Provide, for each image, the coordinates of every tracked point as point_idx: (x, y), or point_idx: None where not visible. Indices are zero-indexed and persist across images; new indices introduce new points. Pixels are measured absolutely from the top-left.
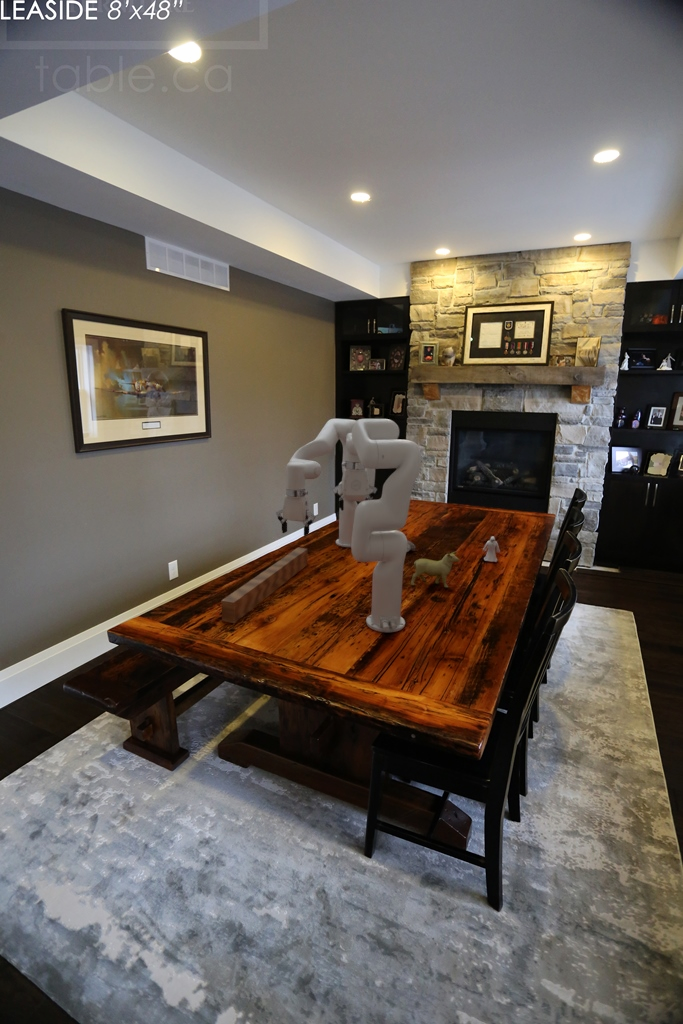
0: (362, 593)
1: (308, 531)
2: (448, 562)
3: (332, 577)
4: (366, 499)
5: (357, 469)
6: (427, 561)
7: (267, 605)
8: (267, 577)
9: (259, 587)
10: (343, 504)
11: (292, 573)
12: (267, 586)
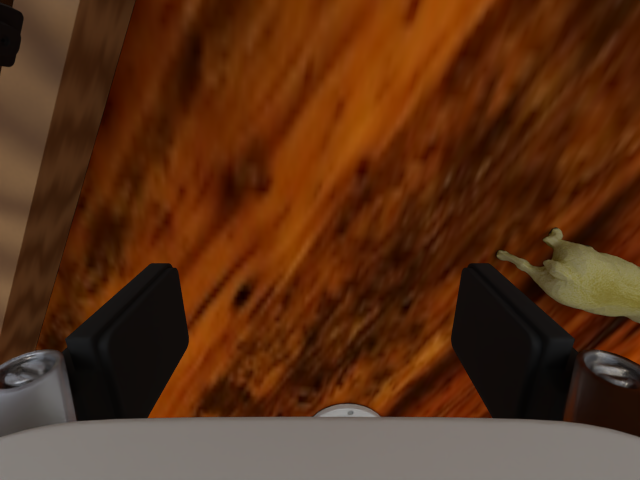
0: (329, 288)
1: (6, 36)
2: None
3: (248, 150)
4: (529, 410)
5: None
6: (603, 306)
7: (69, 333)
8: (3, 310)
9: (5, 347)
10: (157, 396)
11: (90, 130)
12: (28, 300)
